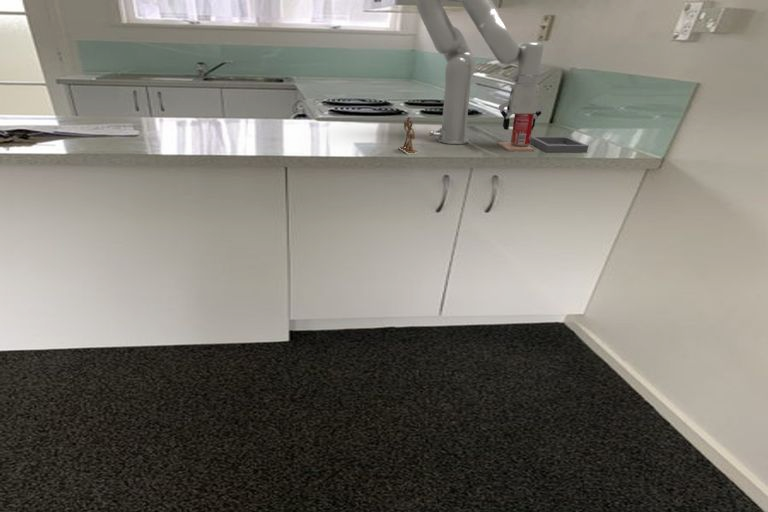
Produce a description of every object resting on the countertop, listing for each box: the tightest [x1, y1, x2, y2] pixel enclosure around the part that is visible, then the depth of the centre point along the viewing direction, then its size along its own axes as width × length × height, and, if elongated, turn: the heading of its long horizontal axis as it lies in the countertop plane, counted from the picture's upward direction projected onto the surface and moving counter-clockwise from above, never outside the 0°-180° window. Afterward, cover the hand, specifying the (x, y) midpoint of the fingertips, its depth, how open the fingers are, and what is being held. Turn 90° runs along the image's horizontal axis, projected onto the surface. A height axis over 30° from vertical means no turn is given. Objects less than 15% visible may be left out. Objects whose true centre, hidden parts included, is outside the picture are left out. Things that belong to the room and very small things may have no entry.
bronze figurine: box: [399, 116, 418, 153], centre depth 148 cm, size 9×4×12 cm, turn 21°
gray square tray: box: [529, 136, 589, 153], centre depth 163 cm, size 16×16×2 cm
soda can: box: [510, 114, 534, 147], centre depth 159 cm, size 7×7×13 cm
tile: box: [497, 141, 534, 152], centre depth 161 cm, size 10×11×1 cm
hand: (518, 129), depth 158 cm, fingers open, 9 cm apart
